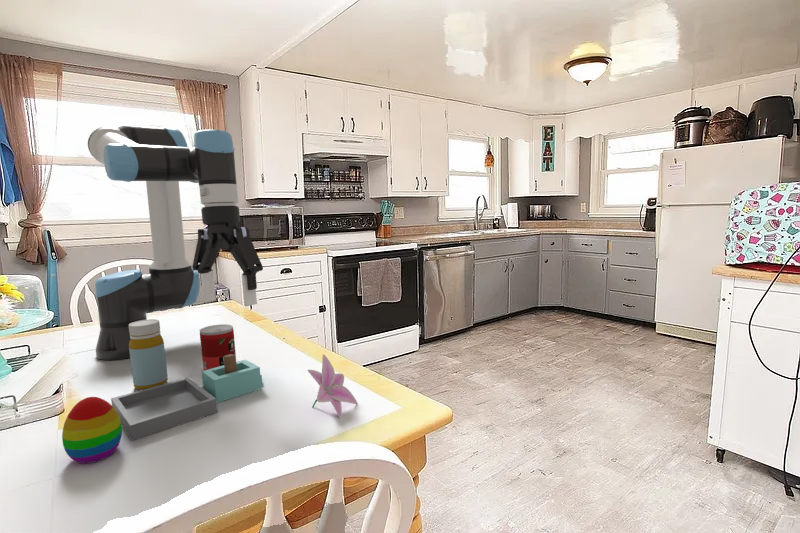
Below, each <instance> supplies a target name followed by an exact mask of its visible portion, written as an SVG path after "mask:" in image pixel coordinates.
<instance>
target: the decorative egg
mask: <svg viewBox="0 0 800 533" xmlns="http://www.w3.org/2000/svg"><path fill="white" fill-rule="evenodd" d="M61 433H62V435H61V440H62V445H63V449H64V452H66V454H67V456H68V457H69V458H70V459H72V460H73V461H74V462H75V463H78V464H92V463H95V462H98V461H101V460H102V461H103V459H106V458H108V457H110V456H111V455H112V454H113V453H114V452H115V451H116V450H117V448H118V447H119V445H120V443H121V439H122V435H123V434H122V433H123V426H122V424H121V420H120V417H119V415H118V413H117V411H116V410H115V409H114V407H113V406H112V403H110V402H108V401H107V400H105V399H103V398H100V397H97V396H87V397H85V398H83V399H81V400H79V401H78V402H77V403H76V404H75V405H74V406H73V407H72V408H71V409H70V411H69V413H68V415H67V416H66V418H65V421H64V423H63V428H62V432H61Z"/></svg>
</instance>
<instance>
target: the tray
mask: <svg viewBox="0 0 800 533" xmlns="http://www.w3.org/2000/svg"><path fill="white" fill-rule="evenodd" d="M110 400H111V401H110V402H111V405H112V406H113V407H114V409H115V410H116V411H117V413H118V415H119V417H120V420H121V424H122V429H124V431H125V432H126V433H127V435H128V436H129V438H130V440H131V441H134V440H138V439H141V438H144V437H148V436H150V435H153V434H156V433H158V432H162V431H165V430H168V429H171V428H174V427H177V426H180V425H183V424H186V423H189V422H192V421H195V420H197V419H200V417H201V418H204V417H206V415H207V416H210V415H213V414H216V413H218V406H217V405H218V403H216V398H214V397H213V396H212V395H211V394H209V393H208V392H207V391H205V390H204V389H203V386H200V385H199V384H198V383H196V381H194V380H193V379H191V378H190V377H186V378H182V379H177V380H175V381H170V382H168V383H167V382H166V383H165V384H163V385H159V386H155V387H152V388H148V389H144V390H137V391H133V392H130V393H126V394H121V395H118V396H114V397H112V398H110ZM215 412H216V413H215ZM212 413H213V414H212ZM209 414H210V415H209ZM203 416H204V417H203ZM182 423H183V424H182ZM179 424H180V425H179ZM170 427H171V428H170Z"/></svg>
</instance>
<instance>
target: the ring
mask: <svg viewBox="0 0 800 533" xmlns="http://www.w3.org/2000/svg"><path fill="white" fill-rule="evenodd" d="M236 365H237V371H236V372H232V373H229V374H225V367H224V365H223V366H219V367H216V368H212V369H208V370H201V379H202V380H201V381H202V388H203V389H204V390H205V391H207V392H208V393H209V394H211V395H212V396H213V397H214V398H216V403H217V404H218V403H221V402H224V401H226V400H230V398H231V399H234V398H236V396H237V397H239V395H240V396H243V395H246V394H249V393H252V392H251V391H253V392H256V391H258V389H259V390H261V389H262V384H263V378H262V376H263V375H262V374H261V367H260V366H258V365H256V363H252V362H251V361H249V360H248V359H243V360H239V361H236ZM255 390H256V391H255ZM245 393H246V394H245ZM242 394H243V395H242ZM233 397H234V398H233Z"/></svg>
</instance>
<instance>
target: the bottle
mask: <svg viewBox="0 0 800 533" xmlns="http://www.w3.org/2000/svg"><path fill="white" fill-rule="evenodd" d="M129 333H130V338H131V339H130V342H129V351H130V366H131V367H130V368H131V375H132V382H133V387H134V388H135V389H137V391H140V390H144V389H148V388H152V387H155V386H159V385H163V384H166V383H167V381H168V380H169V379H168V378H169V377H168V376H169V375H168V367H167V360H166V359H167V358H166V349H165V342H164V338H163V337H162V334H161V324H160V320H159V319H153V318H152V319H149V318H148V319H147V320H141V321H136V322H133V323H130V324H129Z"/></svg>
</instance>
